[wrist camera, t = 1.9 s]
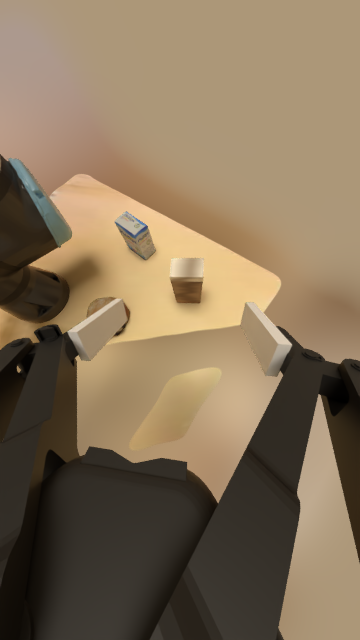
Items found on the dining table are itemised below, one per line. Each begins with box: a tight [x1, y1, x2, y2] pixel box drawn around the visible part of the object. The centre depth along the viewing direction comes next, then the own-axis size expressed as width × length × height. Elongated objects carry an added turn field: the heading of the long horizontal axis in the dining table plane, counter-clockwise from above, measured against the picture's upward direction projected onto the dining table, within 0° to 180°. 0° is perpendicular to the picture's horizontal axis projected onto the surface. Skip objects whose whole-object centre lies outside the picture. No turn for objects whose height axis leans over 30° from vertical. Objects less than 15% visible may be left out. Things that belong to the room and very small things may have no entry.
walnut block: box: [170, 258, 204, 303], centre depth 31 cm, size 6×4×12 cm, turn 86°
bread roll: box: [87, 297, 129, 335], centre depth 35 cm, size 10×10×8 cm
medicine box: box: [115, 211, 156, 260], centre depth 38 cm, size 8×4×9 cm, turn 49°
